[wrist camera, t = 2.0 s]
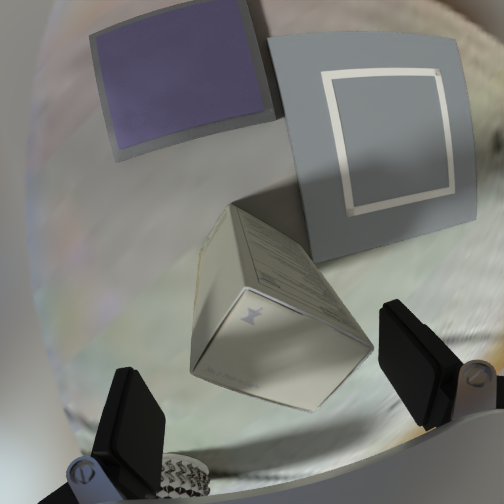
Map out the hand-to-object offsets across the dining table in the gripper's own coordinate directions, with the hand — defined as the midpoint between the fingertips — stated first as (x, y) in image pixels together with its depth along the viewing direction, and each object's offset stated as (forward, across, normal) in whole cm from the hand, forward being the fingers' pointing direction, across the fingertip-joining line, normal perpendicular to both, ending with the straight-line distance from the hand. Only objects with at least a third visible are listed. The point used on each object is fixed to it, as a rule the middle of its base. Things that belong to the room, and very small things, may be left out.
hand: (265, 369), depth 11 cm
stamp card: (+12, -13, -6) cm, 19 cm away
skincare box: (+12, -1, 0) cm, 12 cm away
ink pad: (+12, +1, -13) cm, 18 cm away
